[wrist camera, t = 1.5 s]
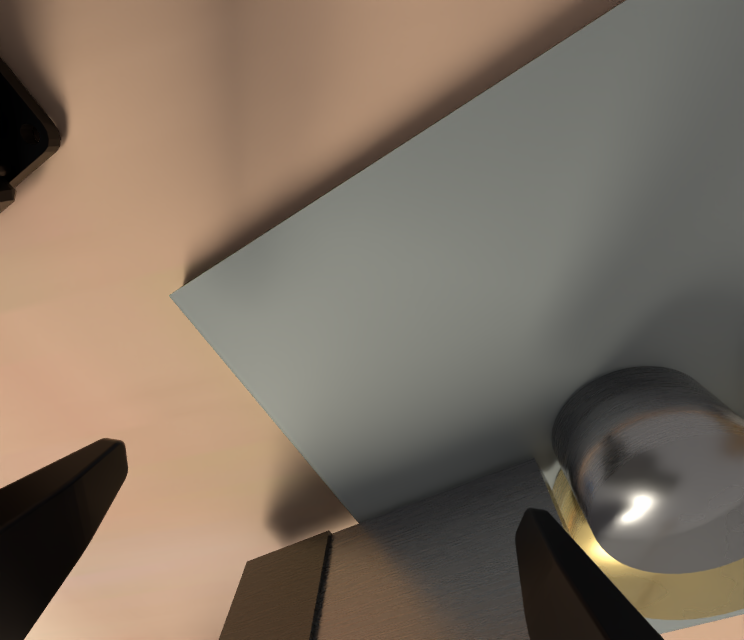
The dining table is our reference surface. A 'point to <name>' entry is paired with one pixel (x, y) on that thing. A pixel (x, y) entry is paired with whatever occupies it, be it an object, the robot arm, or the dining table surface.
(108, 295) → the dining table surface
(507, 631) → the cam capstan
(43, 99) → the dining table surface
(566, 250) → the level stand
